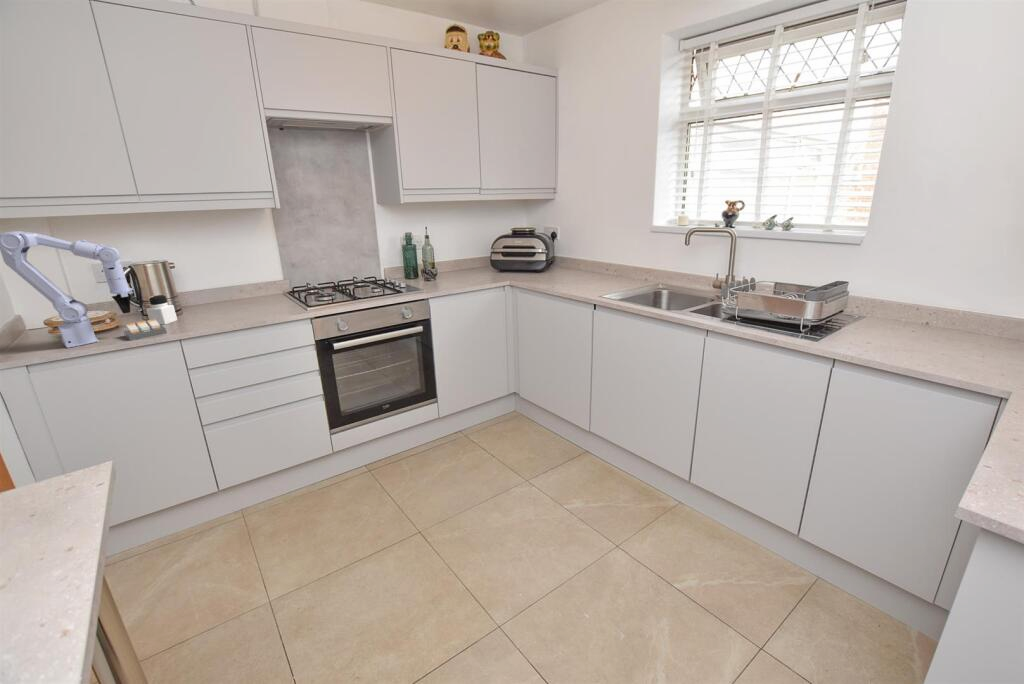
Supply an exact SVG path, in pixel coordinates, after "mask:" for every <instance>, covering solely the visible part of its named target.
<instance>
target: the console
mask: <svg viewBox="0 0 1024 684" xmlns="http://www.w3.org/2000/svg"><path fill="white" fill-rule="evenodd" d="M148 326H149V328H150V329H149V330H144V331H142V330H141V329H140V328H139V327H137V328H138V329H139V332H134V333H131V332H130V331H129V330H128V329H127V330H123V331H122V332H123V335H124V337H125V338H126V339H127V340H128V341H134V340H135V341H136V340H139V339H144V338H149V337H154V336H158V335H163V334H168V333H167V329H166V327H164V325H163V326H162V325H160V327H159V328H154V329H152V328H151V326H150V325H148Z"/></svg>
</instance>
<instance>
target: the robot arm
mask: <svg viewBox="0 0 1024 684" xmlns="http://www.w3.org/2000/svg"><path fill="white" fill-rule="evenodd" d="M36 246H44V247H49V248H54V249H60V250H66V251H70V252H71V253H72V255H74V256H77V257H80V258H86V259H91V260H93V261H94V260H96V261H100V262H101V265H102V268H103V273H104V275H105V276H104V277H105V279H106V282H107V285H108V288H109V294H114V295H113V296H111V298H112V299H113V300H114V301H115V303H116V304H117V305H118V307H119V309H120V310H121V312H122V314H130V313H131V298H132V294H130V293H129V292H131V291H134V289H133V288H132V287H129V285H128V282H127V278H126V275H125V271H124V268H123V265H122V262H121V260H120V257H121V253H120V251H119V250H118V249H117V248H115V247H112V246H110V245H109V246H108V245H107V246H104V244H103V243H100V244H96V243H92V242H89V241H88V240H86V239H82V240H75V241H73V242H72V241H68V240H64V239H61V238H57V237H53V236H49V235H45V234H41V233H36V232H32V231H31V232H30V231H24V230H14V231H5V232H2V233H1V234H0V254H1V257H2V260H3V262H4V264H5V265H6V266H8V267H9V269H11V270H12V271H13V272H15V273H16V275H19V277H20V278H22V280H24V281H25V282H26V283H28V284H29V285H30V286H31V287H32V288H33V289H34V290H36V291H37V292H39V293H40V294H41V295H42V296H43V297H44V298H46V300H48V301H49V302H50V303H51V304H52V306H53V309H55V311H56V312H58V315H59V317H60V319H62V320H63V322H62V323H58V324H57V327H58V330H59V333H60V336H61V341H62V344H64V346H65V347H66V348H67V349H69V348H74V347H78V346H79V347H80V346H85V345H88V344H93V343H98V342H100V340H99V338H97V337H96V334H95V332H94V329H93V326H92V322H91V319H90V317H89V316H88V315H87V314H88V312H89V308H88V306H87V305H86V304H85V303H84V302H82V301H79V300H77V299H75V298H74V297H73V296H71V295H68V294H66V293H65V292H64V291H63V290H62V289H60V287H58V286H57V285H56V284H55V283H53V281H51V279H49V278H48V277H47V276H46V275H44V273H42V272H41V271H40V270H39V269H38V268H36V267H35V266H34V265H33V264H32V263H31V262H29V261H28V260H27V258H28V251H29V250H30V248H31V247H36Z"/></svg>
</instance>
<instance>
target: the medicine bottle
mask: <svg viewBox="0 0 1024 684" xmlns="http://www.w3.org/2000/svg"><path fill="white" fill-rule="evenodd" d="M148 302H149V305H150V307H149V308H146V313H147V317H148V320H153V319H155V320H156V321H157V322H158V323H159V324H160V325H161V326H162V325H163V326H165V325H168V324H171V323H174V322H177V321H178V318H177V317H178V316H177V314H176V310H175V306H174V305H173V304H168V300H167V296H166V295H163V294H157V295H152V296H150V297H149V298H148Z"/></svg>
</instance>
